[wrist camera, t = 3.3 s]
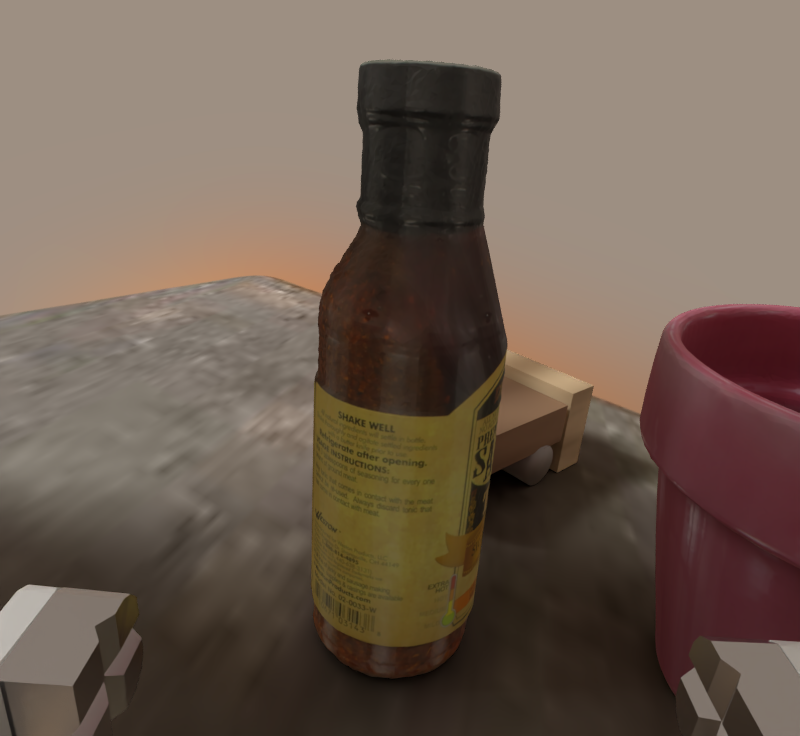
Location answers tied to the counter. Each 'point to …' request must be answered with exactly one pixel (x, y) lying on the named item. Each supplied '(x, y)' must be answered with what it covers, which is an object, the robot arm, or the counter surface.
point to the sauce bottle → (408, 376)
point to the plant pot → (725, 478)
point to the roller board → (539, 419)
